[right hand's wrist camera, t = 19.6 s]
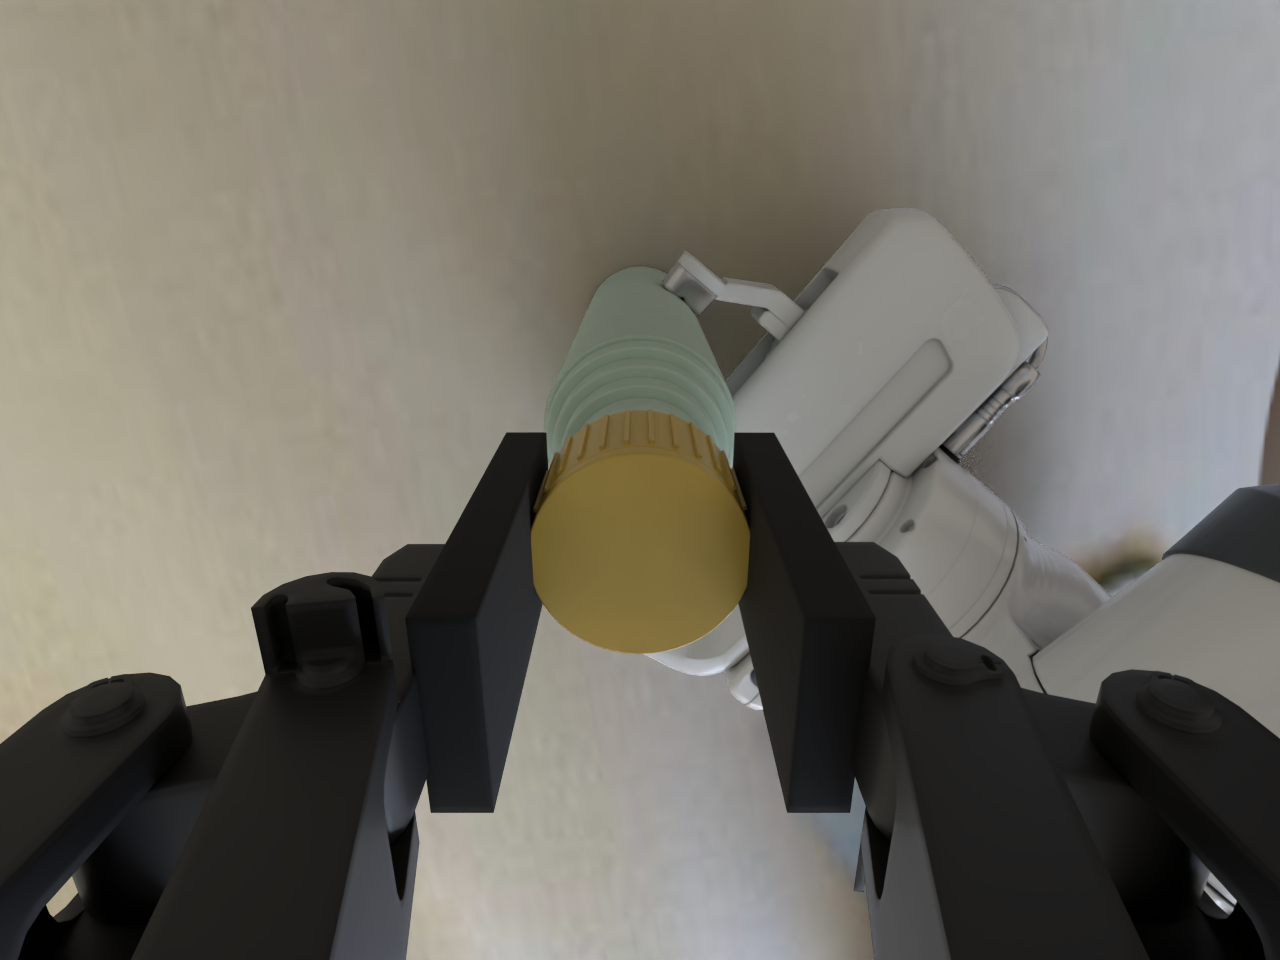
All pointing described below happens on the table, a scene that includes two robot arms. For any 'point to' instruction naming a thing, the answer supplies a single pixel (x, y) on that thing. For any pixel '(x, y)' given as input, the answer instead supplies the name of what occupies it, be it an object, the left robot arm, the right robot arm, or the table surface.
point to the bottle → (639, 363)
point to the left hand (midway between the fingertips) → (621, 333)
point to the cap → (640, 534)
